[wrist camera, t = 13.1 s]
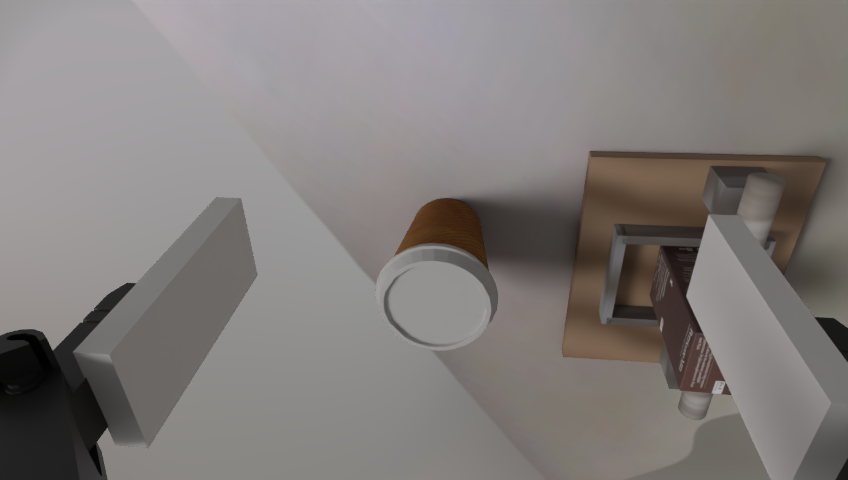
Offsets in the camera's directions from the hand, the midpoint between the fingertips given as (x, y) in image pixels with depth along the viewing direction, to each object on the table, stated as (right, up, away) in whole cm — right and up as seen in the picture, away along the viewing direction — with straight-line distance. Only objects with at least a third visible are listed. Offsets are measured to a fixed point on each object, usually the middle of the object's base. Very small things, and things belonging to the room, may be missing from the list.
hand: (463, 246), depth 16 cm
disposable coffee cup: (+1, +1, +37) cm, 37 cm away
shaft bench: (+22, -2, +36) cm, 42 cm away
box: (+22, -3, +35) cm, 41 cm away
